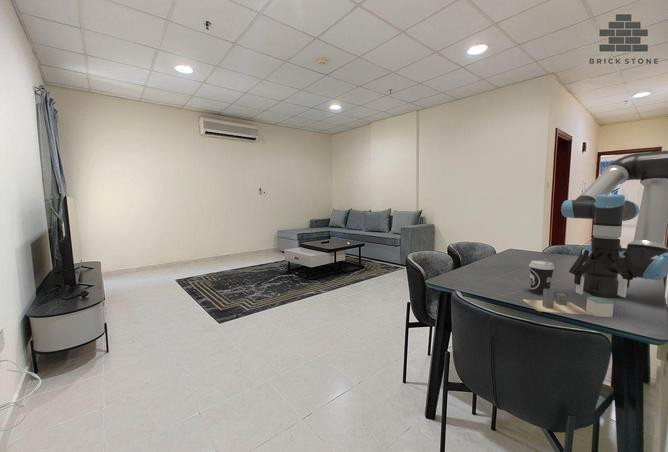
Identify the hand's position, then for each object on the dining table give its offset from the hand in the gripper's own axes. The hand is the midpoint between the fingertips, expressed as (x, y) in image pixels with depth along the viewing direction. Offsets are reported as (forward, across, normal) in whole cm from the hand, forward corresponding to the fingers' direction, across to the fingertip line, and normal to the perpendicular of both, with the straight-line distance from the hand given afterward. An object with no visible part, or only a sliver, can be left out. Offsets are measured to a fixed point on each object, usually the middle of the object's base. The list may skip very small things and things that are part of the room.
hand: (599, 294), depth 106 cm
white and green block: (+8, 0, 0) cm, 9 cm away
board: (+9, +12, -5) cm, 15 cm away
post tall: (+8, +14, -4) cm, 17 cm away
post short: (+7, +8, -9) cm, 14 cm away
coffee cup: (+9, +8, -23) cm, 26 cm away
